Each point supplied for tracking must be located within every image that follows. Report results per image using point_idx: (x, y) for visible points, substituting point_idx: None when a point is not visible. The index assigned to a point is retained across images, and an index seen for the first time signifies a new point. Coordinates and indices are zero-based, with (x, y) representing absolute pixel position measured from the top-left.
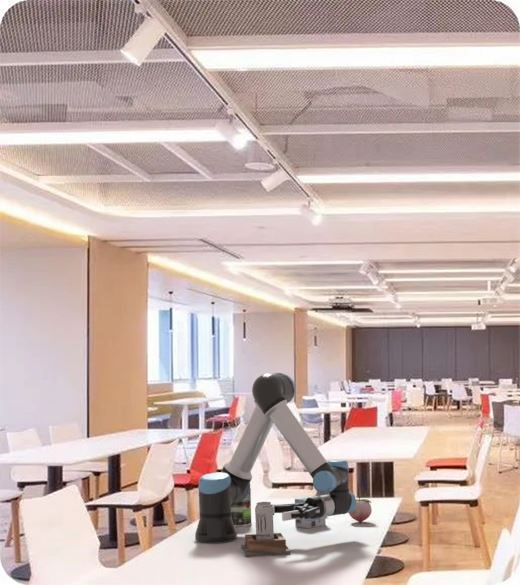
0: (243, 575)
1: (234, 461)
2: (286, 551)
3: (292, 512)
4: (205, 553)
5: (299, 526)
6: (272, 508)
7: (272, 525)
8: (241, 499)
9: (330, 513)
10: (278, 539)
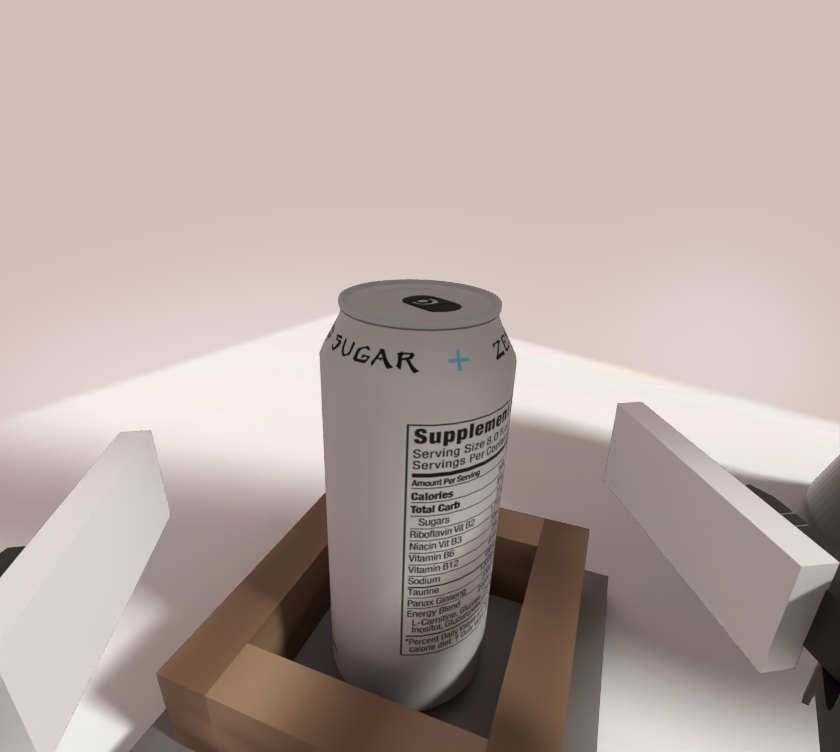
0: (84, 419)
1: None
2: (151, 731)
3: (42, 549)
4: (532, 448)
5: None
6: (346, 387)
7: (335, 537)
8: None
9: None
10: (229, 626)
